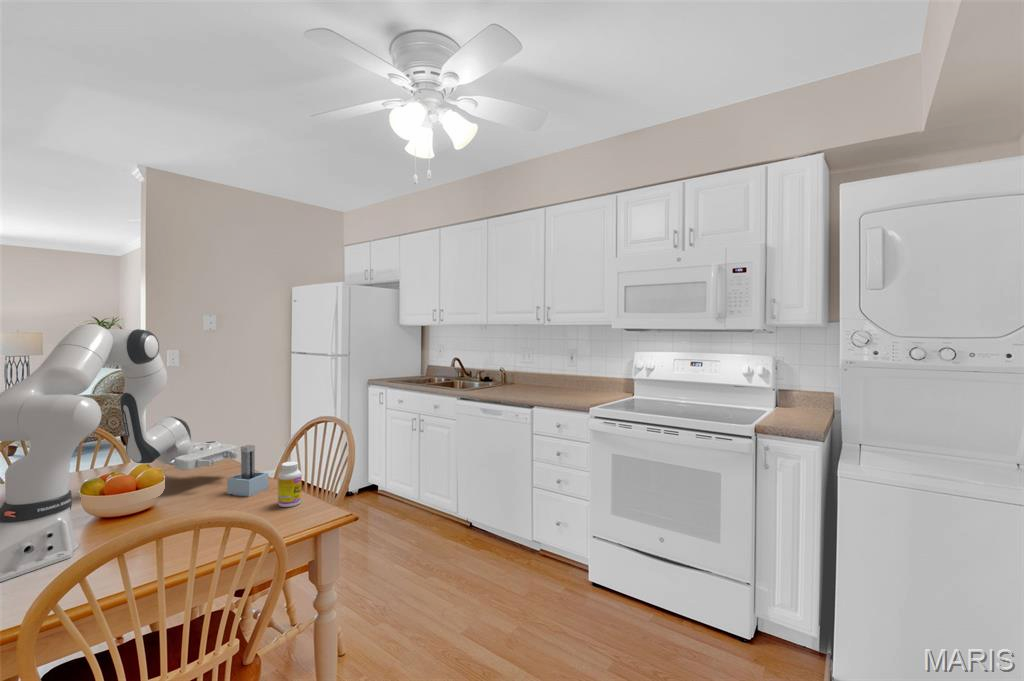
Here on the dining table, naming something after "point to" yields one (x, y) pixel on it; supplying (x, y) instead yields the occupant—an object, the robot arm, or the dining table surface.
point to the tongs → (248, 462)
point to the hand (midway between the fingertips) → (224, 459)
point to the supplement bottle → (289, 485)
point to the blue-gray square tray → (247, 484)
